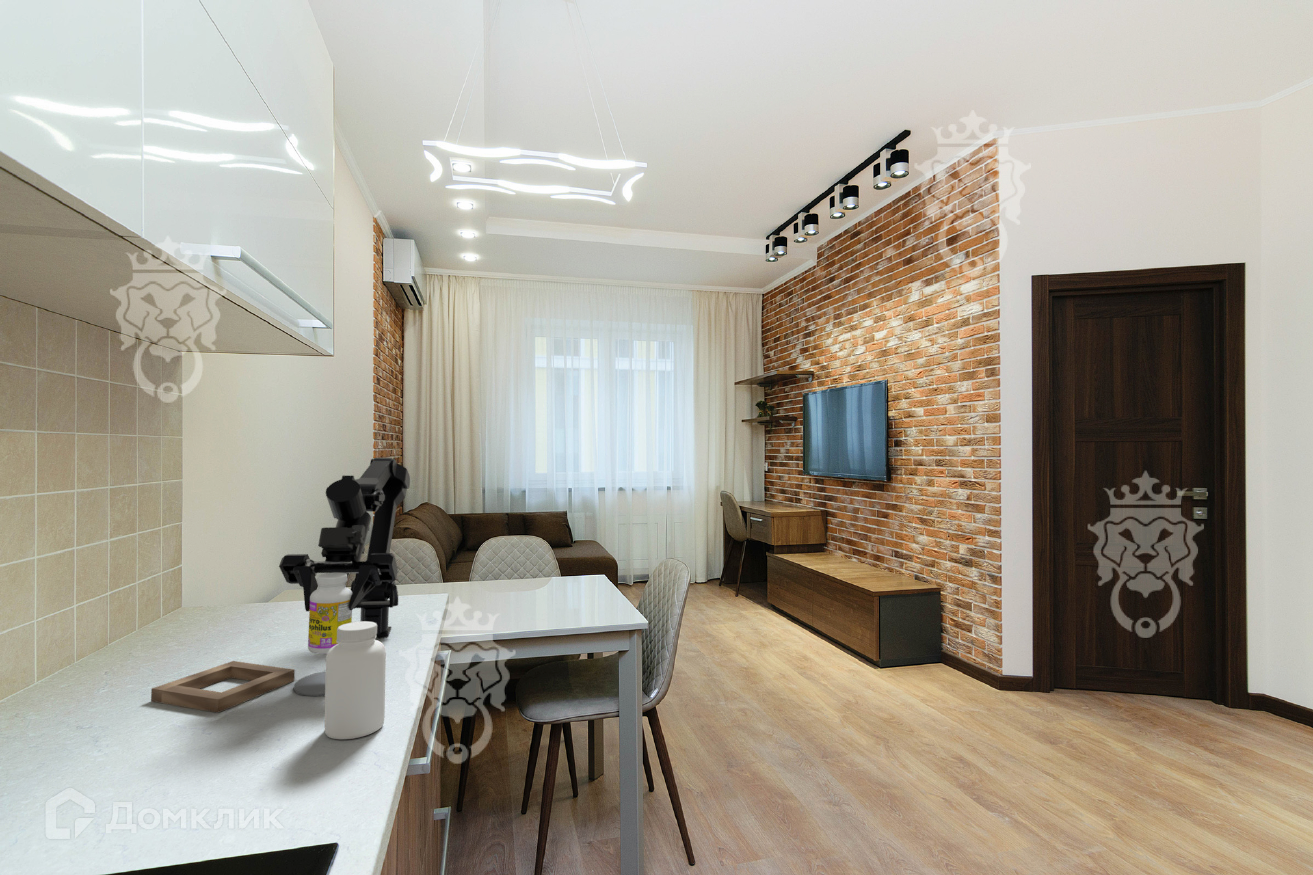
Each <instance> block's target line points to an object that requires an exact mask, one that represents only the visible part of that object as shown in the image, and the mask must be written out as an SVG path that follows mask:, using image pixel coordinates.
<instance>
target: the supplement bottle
mask: <svg viewBox="0 0 1313 875" xmlns="http://www.w3.org/2000/svg"><path fill="white" fill-rule="evenodd" d="M316 580H317V583H318V588H317V590H315V591H314V592H313V593H312V594H311V596H310V610H309V611H308V612H309V615H308V618H309V619H308V636H307V637H308V638H307V639H308V640H307V649H308V651H309V652H310V653H313V654H318V655H325V654H326V655H327V653H328V651H329V650H330V649H331V648H332V647H333V646H335V645H337V644H339V643H337V639H338V638H337V629H338V627H339V626H341V625H343V624H347V623H352V620H353V610H349V603H350V599H351V596H352V591H351V588H349V587H346V586H347V585H346V584H347V581H348V573H320V574H318V575H316Z"/></svg>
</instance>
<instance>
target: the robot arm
mask: <svg viewBox="0 0 1313 875" xmlns="http://www.w3.org/2000/svg"><path fill="white" fill-rule="evenodd" d="M341 476H342V477H341V479H339V480H336V481H334V482H332V483H330V484H329V485H328V486H327V487H326V489H325V497H326V499H327V502H328V505H329V508H330V511H331V514H332V517H333V518H334V519H336V520H337V522H336V524H335V526H334V527H333V526H332V527H321V528H320V534H319V539H318V546H317V547H319V548H321V549H322V550H321V552H320V554H321V556H322V558H324V560H317V561H315V560H313V559H311V558H310V556H309V554H308V553H301V554H300V553H299V554H298V553H297V554H295V553H291V554H289V553H288V554H285V555H284V556H283V557H282V558H281V559H280V560H281V561H279V566H278V567H279V569H280V571H281V573H282V575H283V578H284V580H285V582H286V583H288V584H290V585H293V584H294V585H295V584H296V585H297V584H298V585H299V587H301V588H303V590H302V591H303V600H304V610H305V612H309V610H310V596H311V594H312V593H313V592H314V591H315V590H317V589H318V583H317V574H325V573H346V574H355V577H354V580H352V581H351V585H350V590H351V591H352V596H351V599H350V603H349V610H352V611H353V610H355V609H360V620H359V622H362V621H368V622H374V623H376V624H377V634H376V638H379V637H380V638H382V637H388V636H390V633H391V630H392V626H389V613H390V610H389V608H394V607H397V606H399V592H398V586H397V584H396V582H395V581H397V576H398V565H397V561H396V558H395V557H396V556H395V555H394V554H393V553H392V552H391V547H392V539H393V535H394V534H393V532H394V527H395V519H396V514H397V507H398V506H399V505H400V504H401V503H402V502H403V501H404V500H405V499H406V495H407V490H409V488H410V486H411V485H410V484H411V477H410V476H411V475H410V473H409V471H408V468H407V467H405V466H403V465H401V464H399V463H397V460H396V459H395V458H393V457H374V458H371V459H370V463H369V466H368V467H367V468H366V470H365V471H363V473H362V474H361V476H360V477H359V478H356V479H355V476H354V475H345V474H344V475H341ZM369 512H370V513H371V512H374V515H373V521H372V517H371V515H370V513H369ZM371 522H372V527H371V533H370V540H369V544H368V550H367V556H366V560H365V561H361V558H362V556H363V555H364V554H365V550H366V549H365V544H366V540H367V535H368V534H369V531H370V525H371Z"/></svg>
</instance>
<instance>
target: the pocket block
mask: <svg viewBox="0 0 1313 875" xmlns="http://www.w3.org/2000/svg"><path fill="white" fill-rule="evenodd" d="M295 672H296V670H295V669H294V668H287V667H279V666H273V665H272V666H271V665H265V664H257V663H251V662H244V661H236V660H232V661H229V662H227V663H223V664H220V665H217V666H215V667H214V666H213V667H211V668H208V669H205V670H202V671H199V672H197V673H194V674H190V675H188V676H185V677H181V678H179V679H178V678H177V679H176V680H173V681H170V682H166V683H164V684H161V685H159V686H154V687H152V688H151V691H150V692H151V693H150V694H151V695H150V696H151V697H150V702H154V703H159V704H160V703H161V704H164V705H172V706H177V707H183V708H189V709H195V710H201V711H206V712H212V713H221V712H222V711H225V710H228V709H230V708H233V707H235V706H237V705H239V704H242V703H244V702H247V701H249V700H252V699H255V698H257V697H259V696H261V695H265V694H266V693H268V692H271V691H273V690H276V689H279V688H281V687H283V686H285V685H288V684H291V683H293V682H294V681H295ZM231 678H232V679H236V680H237V679H238V680H243V681H244V680H245V681H248V682H245V683H242V684H239V685H237V686H234V687H232V688H230V689H225V690H223V691H220V692H219V691H216V690H215V691H214V690H208V689H204V688H207V687H208V686H211V685H214V684H217V683H219V682H220V683H221V682H223V681H225V680H228V679H231ZM200 688H201V689H200Z"/></svg>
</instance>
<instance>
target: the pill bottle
mask: <svg viewBox="0 0 1313 875" xmlns="http://www.w3.org/2000/svg"><path fill="white" fill-rule="evenodd" d="M376 634H377V624H376V623H374V622H368V621H362V622H360V621H353V622H352V623H347V624H343V625H341V626H339V627H338V629H337V638H338V639H337V643H339V644H337V645H335V646H333V647H332V648H331V649H330V650H329V651H328V653H327V654H326V656H325V671H326V678H325V696H324V726H323V727H324V732H325V736H327V737H328V738H330V739H334V740H351V739H358V738H362V737H365V736H368V735H371V734H373V733H375V732H377V731H378V730H380V729H382V727H383V726H384V723H385V717H386V715H385V713H386V711H385V709H386V669H387V668H386V667H387V666H386V665H387V664H386V663H387V661H386V658H387V657H386V656H387V652H386V651H387V650H386V647H385V645H384V643H382V642H381V641H379V640H377V637H376Z"/></svg>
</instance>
